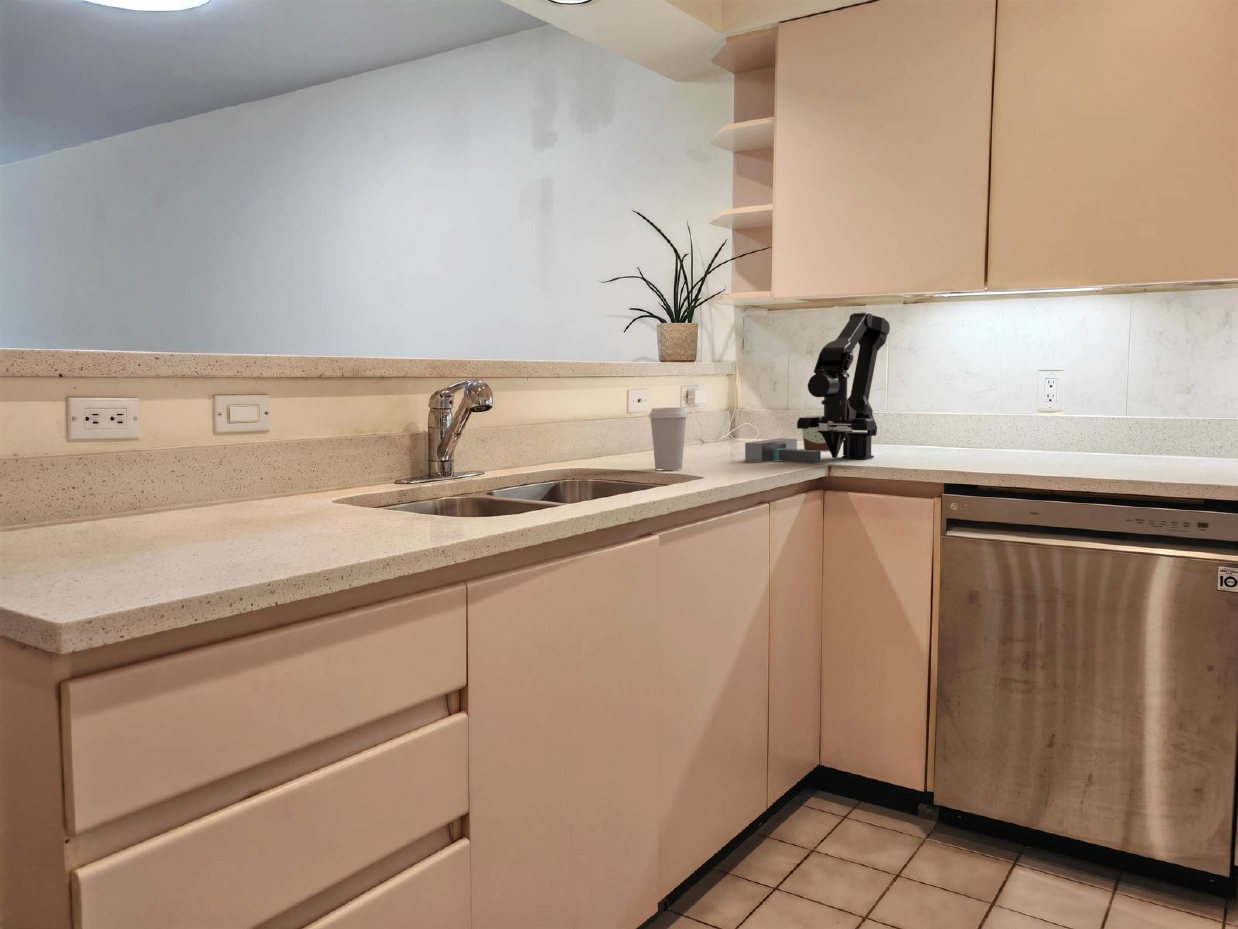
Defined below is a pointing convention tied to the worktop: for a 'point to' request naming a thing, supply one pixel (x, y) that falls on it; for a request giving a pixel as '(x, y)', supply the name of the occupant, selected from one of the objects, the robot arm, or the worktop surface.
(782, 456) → the bar
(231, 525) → the worktop surface
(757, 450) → the long gray rectangular block
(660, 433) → the coffee cup
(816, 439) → the food container
